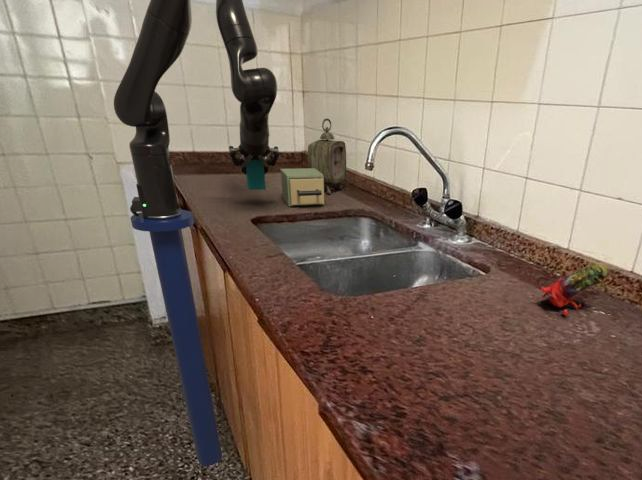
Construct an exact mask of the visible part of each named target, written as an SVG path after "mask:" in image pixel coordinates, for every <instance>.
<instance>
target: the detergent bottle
mask: <svg viewBox="0 0 642 480" xmlns="http://www.w3.org/2000/svg"><path fill="white" fill-rule="evenodd" d="M245 176H246V185H247V189H248V191H256V190H257V191H261V190H264V191H265V190H267V189H266V187H267V186H266V174H264V165H263V164H262V162H261V161H260V160H250V162H249V163H248V164H247V165H246V174H245Z"/></svg>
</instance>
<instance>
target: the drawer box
mask: <svg viewBox="0 0 642 480" xmlns="http://www.w3.org/2000/svg"><path fill="white" fill-rule="evenodd" d="M289 178H323V186H324V175H323V174H322V173H320V172H319V171H318V170H316V169H315V168H308V167H307V168H305V167H304V168H302V167H301V168H280V181H281V193H282V199H283V201H284V202H285V203H286V204H287V206H288V207H290V208H291V207H308V206H309V207H310V206H311V207H312V206H313V207H314V206H325V205H326V203H325V202H326V201H325V200H324V204H305V205H291V197H290V182H289ZM324 187H325V186H324Z"/></svg>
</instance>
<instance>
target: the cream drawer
mask: <svg viewBox="0 0 642 480" xmlns="http://www.w3.org/2000/svg"><path fill="white" fill-rule="evenodd" d="M289 182H290V197H291V205H305V204H324V203H325V202H324V201H325V190H324V187H325V186H323V178H289Z"/></svg>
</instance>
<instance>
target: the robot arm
mask: <svg viewBox="0 0 642 480" xmlns="http://www.w3.org/2000/svg"><path fill="white" fill-rule="evenodd" d="M247 15H248V14H247V12H246V9H245V4H244V1H243V0H215V17H216V24H217V27H218V31H219V34H220V36H221V40H222V42H223V46H224V48H225V51H226V54H227V58H228V64H229V73H230V76H229V77H230V87H231V93H232V94H233V96H234V98H235V100H237V102H239V103H240V104H239V118H240V119H239V120H240V121H239V140H240V141H239V145H238V147H234V146H233V145H230V146H228V150H229V151H228V152H229V156H230V159H231V160H232V162H233V165H234V166H235V167H239V166H240V170H241V173H243V175H246V165H247V164H248V163H249V162H250V160H260V161H261V162H262V164H263V165H264V174H265V175H266V174H267V173H268V172H269V167H270V166H271V167H274V166H275V165H276V163H277V161H278V159H279V157H280V150H279V147H278V146H273V147H270V146H269V142H270V141H269V140H270V126H269V121H270V120H269V115H270V112H271V111H272V108H273V106H274V103H275V101H276V98H277V95H278V81H277V78H276V76H275V74H274V73H273V71H271V70H270V68H267V67H256V68H249V69H248V68H247V69H243V64H245V63H248V62H249V61H252V60H255V58H257V56H258V53H259V50H258V46H257V43H256V40H255V36H254V33H253V31H252V28H251V25H250V23H249V19H248V16H247ZM192 21H193V15H192V4H191V0H150V1H149V4H148V6H147V8H146V12H145V15H144V17H143V21H142V23H141V28H140V31H139V35H138V37H137V41H136V42H135V45H134V49H133V52H132V55H131V58H130V61H129V63H128V66H127V68H126V70H125V72H124V75H123V77H122V79H121V81H120V83H119V85H118V86H117V89H116V92H115V94H114V97H113V109H114V112H115V114H116V117H117V118H118V120H119V121H120V122H121V123H122V124H124V125H126V126H129V127H132V128H135V134H134V137H133V138H132V139H131V141H130V142H129V150H130V156H131V160H132V165H133V169H134V170H133V171H134V174H135V175H134V176H135V179H136V184H135V185H136V186H135V187H136V191H137V196H133V198H132V200H131V205H130V206H129V210H130V212H131V214H132V215H135V216H136V217H137V216H139V214H138V213H140V212H142V214H143V219H152V220H164V219H172V218H176V217H179V216H180V215H181V214H180V211H179V209H181V206H180V203H179V200H178V194H177V189H176V184H175V183H176V182H175V177H174V173H173V172H174V171H173V167H172V166H173V165H172V161H171V157H170V156H171V155H170V150H169V145H170V142H171V141H170V140H171V137H170V129H169V119H168V113H167V109H166V106H165V105H166V104H165V103H164V101H163V99H162V97H161V95H160V94H159V93H157V91H156V90H157V89H156V88H157V86H158V84H159V82H160V80H161V79H162V77H163V76H164V75H165V73H167V71H169V69H170V68H171V67H172V66H173V65H174V63H176V61H177V60H178V58H179V57H180V56H181V54H182V53H183V51H184V49H185V46H186V43H187V40H188V38H189V35H190V32H191V29H192V23H193V22H192ZM239 154H240V155H242V156H241V157H240V158H239V157H238V155H239ZM269 154H270V156H269V158H268V157H267V156H268V155H269Z"/></svg>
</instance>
